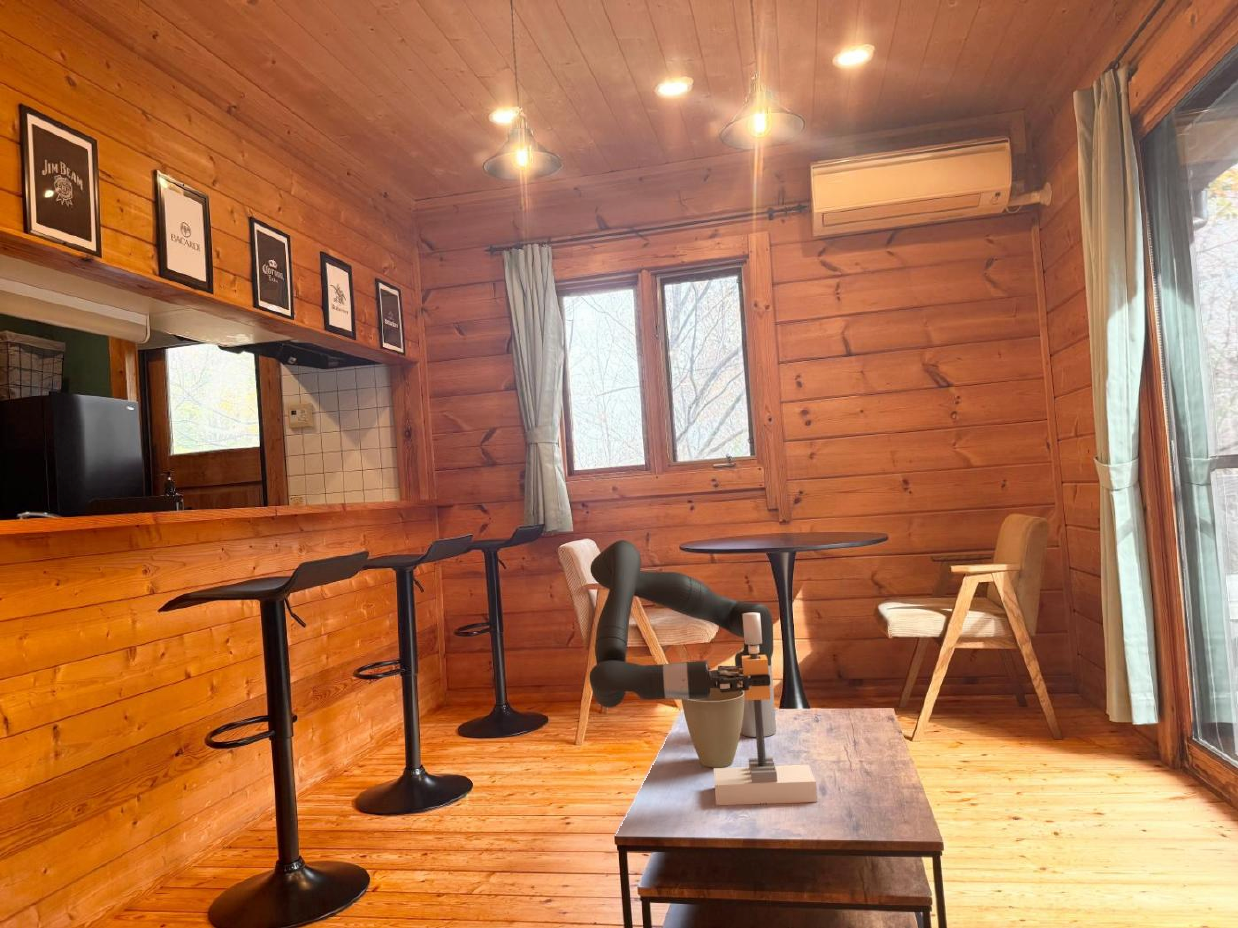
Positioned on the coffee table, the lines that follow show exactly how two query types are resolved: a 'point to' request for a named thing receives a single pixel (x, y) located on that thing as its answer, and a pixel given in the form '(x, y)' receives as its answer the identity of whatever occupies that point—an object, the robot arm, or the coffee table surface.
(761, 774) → the stand
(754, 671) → the sleeve
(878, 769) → the coffee table surface
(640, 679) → the robot arm
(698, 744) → the plant pot
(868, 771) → the coffee table surface
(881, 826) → the coffee table surface
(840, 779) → the coffee table surface
